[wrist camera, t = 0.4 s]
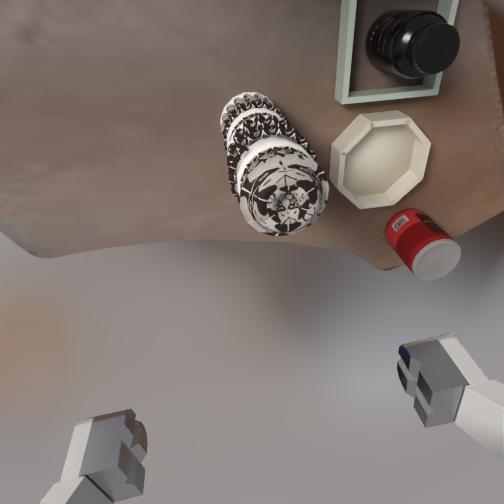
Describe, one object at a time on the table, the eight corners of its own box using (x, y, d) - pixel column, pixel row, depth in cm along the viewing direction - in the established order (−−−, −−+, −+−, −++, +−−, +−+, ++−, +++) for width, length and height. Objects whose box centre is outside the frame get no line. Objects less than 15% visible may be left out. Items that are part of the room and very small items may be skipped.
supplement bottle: (423, 18, 47) (484, 24, 37) (398, 74, 51) (447, 93, 41) (377, 0, 45) (429, 2, 36) (354, 60, 49) (395, 76, 39)
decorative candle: (241, 167, 55) (271, 266, 35) (204, 115, 50) (213, 196, 30) (293, 131, 53) (356, 215, 33) (259, 74, 48) (310, 131, 28)
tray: (342, -22, 43) (352, -22, 41) (450, -29, 44) (465, -31, 42) (334, 99, 51) (341, 104, 49) (426, 90, 52) (437, 94, 50)
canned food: (379, 246, 68) (408, 284, 59) (388, 208, 63) (421, 243, 54) (418, 242, 69) (452, 279, 60) (430, 205, 64) (469, 239, 55)
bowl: (333, 116, 53) (342, 124, 49) (422, 107, 54) (437, 114, 51) (327, 200, 61) (335, 212, 57) (405, 191, 62) (417, 202, 59)
